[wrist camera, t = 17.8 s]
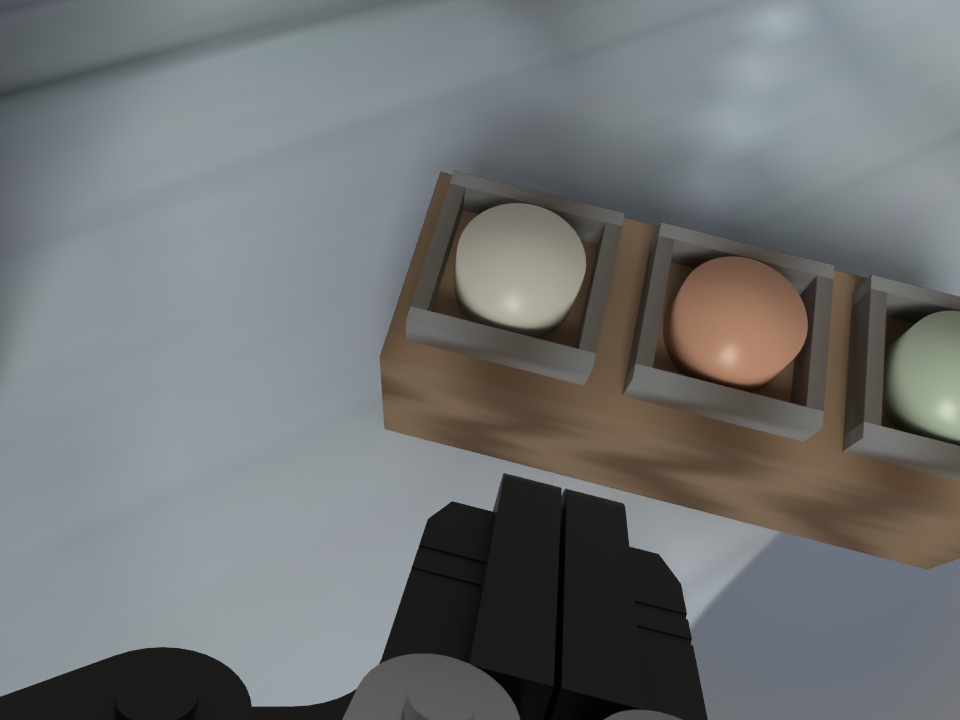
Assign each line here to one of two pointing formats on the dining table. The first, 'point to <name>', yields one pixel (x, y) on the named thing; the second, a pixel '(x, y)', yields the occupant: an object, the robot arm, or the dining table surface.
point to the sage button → (925, 378)
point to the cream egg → (518, 269)
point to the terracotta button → (735, 324)
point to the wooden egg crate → (676, 386)
